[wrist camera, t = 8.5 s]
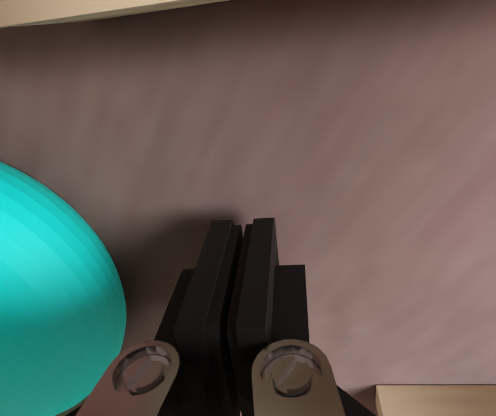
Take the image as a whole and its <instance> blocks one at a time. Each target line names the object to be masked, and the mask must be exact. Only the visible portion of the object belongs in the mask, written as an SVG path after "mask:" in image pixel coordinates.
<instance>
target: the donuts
mask: <svg viewBox="0 0 496 416" xmlns="http://www.w3.org/2000/svg"><path fill="white" fill-rule="evenodd" d="M125 328H126V303H125V297H124V292H123V288H122V284H121V280H120V277H119V274H118V271H117V269H116V267H115V264H114V262H113V260H112V258H111V256H110V254H109V253H108V251H107V249H106V248H105V246H104V244H103V243H102V241H101V240H100V239H99V237H98V236H97V235H96V233H95V232H94V231H93V229H92V228H91V227H90V226H89V225H88V224H87V222H86V221H85V220H84V219H83V218H82V217H81V216H80V215H79V214H78V213H77V212H76V211H75V210H74V209H73V208H72V207H71V206H70V205H69V204H68V203H66V202H65V201H64V200H63V199H61V198H60V197H59V196H58V195H57V194H55V193H54V192H52V191H51V190H50V189H48V188H47V187H46V186H44V185H43V184H41V183H40V182H38V181H36V180H35V179H33V178H32V177H30V176H28V175H26V174H25V173H23V172H21V171H19V170H17V169H15V168H13V167H11V166H9V165H7V164H4V163H2V162H0V416H55V415H57V414H59V413H62V412H64V411H66V410H68V409H70V408H71V407H73V406H75V405H76V404H78V403H79V402H81V401H82V400H83V399H84V398H86V397H87V396H88V395H89V394H90V393H91V392H92V390H93V389H94V387H95V386H96V384H97V383H98V381H99V380H100V378H101V377H102V375H103V374H104V372H105V371H106V369H107V368H108V366H109V365H110V364H111V362H112V361H113V360H114V359H115V358H116V357H117V356H118V355H119V352H120V350H121V347H122V344H123V340H124V334H125Z"/></svg>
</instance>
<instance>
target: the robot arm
mask: <svg viewBox="0 0 496 416" xmlns="http://www.w3.org/2000/svg"><path fill="white" fill-rule="evenodd" d="M240 411H241V413H242V416H376V415H374V414H373V413H372V412H370V411H369V410H368V409H367V408H365V407H364V406H363V405H361V404H360V403H359V402H358V401H356V400H355V399H354V398H352V397H351V396H350V395H349V394H347V393H346V392H345V391H343V390H342V389H341V388H340V387H338V386H337V385H336V382H335V379H334V375H333V372H332V369H331V365H330V363H329V361H328V359H327V357H326V355H325V354H324V353H323V352H322V351H321V350H320V349H319V348H318V347H316V346H314V345H312V344H310V343H309V329H308V312H307V295H306V278H305V265H280V266H279V260H278V249H277V239H276V228H275V219H274V218H259V219H254V220H253V224H247V225H246V228H245V233H244V238H243V233H242V227H241V225H234V221H233V220H221V221H212V223H211V226H210V228H209V231H208V234H207V237H206V239H205V242H204V245H203V248H202V251H201V253H200V256H199V259H198V262H197V265H196V267H195V269H184V270H183V271H182V273H181V275H180V277H179V280H178V282H177V285H176V287H175V290H174V292H173V294H172V297H171V299H170V302H169V304H168V307H167V309H166V312H165V314H164V317H163V319H162V322H161V324H160V327H159V329H158V332H157V334H156V336H155V339H154V341H145V342H141V343H137V344H135V345H133V346H131V347H129V348H127V349H126V350H124V351H123V352H122V353H120V354H119V355H118V356H117V357H116V358H115V359H114V360H113V361H112V362H111V364H110V365H109V366H108V368H107V369H106V371H105V372H104V374H103V375H102V377H101V378H100V380H99V381H98V383H97V384H96V386H95V387H94V389H93V390H92V392H91V393H90V395H89V396H88V398H87V399H86V401H85V402H84V404H82V405H81V406H79V407H78V408H76V409H74V410H73V411H71V412H70V413H68V414H67V415H65V416H240Z"/></svg>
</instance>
